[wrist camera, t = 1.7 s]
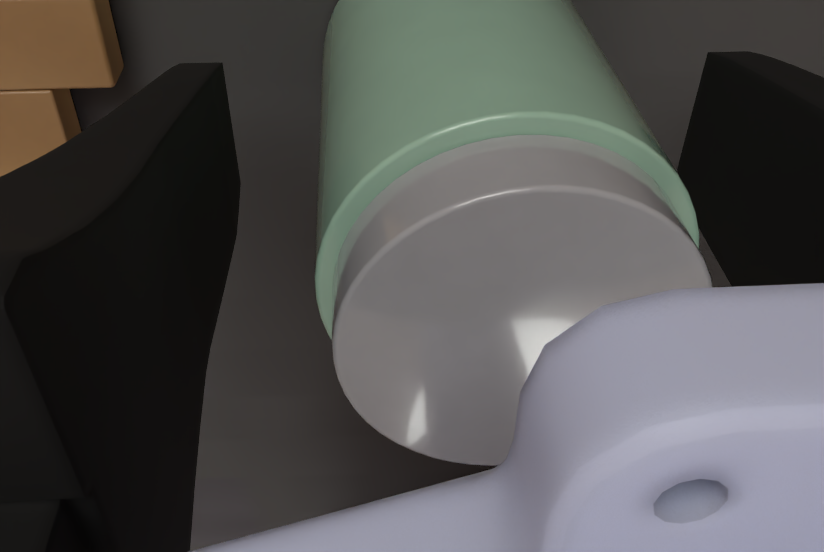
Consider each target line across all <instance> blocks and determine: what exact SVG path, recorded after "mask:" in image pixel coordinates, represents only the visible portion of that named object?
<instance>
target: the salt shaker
mask: <svg viewBox="0 0 824 552" xmlns="http://www.w3.org/2000/svg"><path fill="white" fill-rule="evenodd" d="M314 279H315V296H316V301H317V306H318V310H319V314H320V317H321V320H322V322H323V324H324V327H325V329H326V331H327V334H328V335H329V337H330V338H331V340H332V356H333V363H334V367H335V371H336V376H337V378H338V381H339V383H340V385H341V387H342V390H343V392H344V394H345V395H346V397H347V398H348V400H349V401H350V403H351V404H352V406H353V407H354V409H355V410H356V411H357V412H358V413H359V415H360V416H361V417H362V418H363V419H364V420H365V421H366V422H367V423H368V424H369V425H371V426H372V427H373V428H374V429H376V430H377V431H378V432H379V433H380V434H382V435H384V436H385V437H387V438H389V439H390V440H392V441H393V442H395V443H397V444H399V445H401V446H403V447H405V448H408V449H410V450H412V451H414V452H417V453H420V454H423V455H426V456H429V457H432V458H436V459H441V460H445V461H450V462H456V463H463V464H471V465H491V466H496V465H500V464H501V463H503V462H504V461H505V460H506V458H507V456H508V453H509V450H510V447H511V444H512V441H513V438H514V431H515V425H516V418H517V411H518V404H519V397H520V391H521V389H522V387H523V385H524V383H525V382H526V380H527V378H528V376H529V374H530V372H531V370H532V368H533V366H534V364H535V363H536V361H537V359H538V357H539V355H540V353H541V351H542V349H543V347H544V345H545V344H547V343H548V342H550V341H551V340H553V339H554V338H556V337H557V336H559V335H560V334H561V333H563V332H564V331H566V330H567V329H569V328H570V327H572V326H573V325H575V324H576V323H577V322H579V321H580V320H582V319H583V318H585V317H586V316H588V315H589V314H591V313H592V312H593V311H595V310H596V309H598V308H599V307H601V306H603V305H607V304H611V303H616V302H620V301H624V300H628V299H633V298H637V297H641V296H646V295H650V294H654V293H658V292H663V291H667V290H672V289H689V288H713V286H712V280H711V275H710V273H709V270H708V267H707V265H706V262H705V259H704V257H703V256H702V254H701V252H700V250H699V227H698V221H697V216H696V211H695V208H694V205H693V203H692V200H691V197H690V194H689V192H688V190H687V189H686V187H685V185H684V184H683V182H682V180H681V178H680V177H679V175H678V173H677V172H676V170H675V169H674V167H673V165H672V164H671V162H670V160H669V159H668V157H667V156H666V154H665V152H664V151H663V149H662V148H661V146H660V144H659V143H658V141H657V139H656V138H655V136H654V135H653V133H652V131H651V130H650V128H649V126H648V125H647V123H646V122H645V120H644V118H643V117H642V115H641V113H640V112H639V110H638V109H637V107H636V105H635V104H634V102H633V101H632V99H631V97H630V96H629V94H628V92H627V91H626V89H625V88H624V86H623V84H622V83H621V81H620V79H619V78H618V76H617V75H616V73H615V71H614V70H613V68H612V67H611V65H610V63H609V62H608V60H607V58H606V57H605V55H604V54H603V52H602V50H601V49H600V47H599V45H598V44H597V42H596V41H595V39H594V37H593V36H592V34H591V32H590V31H589V29H588V28H587V26H586V24H585V23H584V21H583V20H582V18H581V16H580V15H579V13H578V11H577V10H576V8H575V7H574V5H573V3H572V2H571V0H339V1H338V3H337V5H336V7H335V8H334V11H333V14H332V16H331V19H330V21H329V24H328V28H327V32H326V36H325V40H324V49H323V64H322V90H321V117H320V144H319V170H318V197H317V223H316V250H315V276H314Z"/></svg>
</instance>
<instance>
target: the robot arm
mask: <svg viewBox="0 0 824 552" xmlns="http://www.w3.org/2000/svg"><path fill="white" fill-rule="evenodd" d="M677 170H678V174H679V177H680V178H681V180H682V182H683V184H684V185H685V187H686V189H687V190H688V192H689V194H690V197H691V200H692V203H693V205H694V208H695V211H696V216H697V221H698V227H699V229H700V230H701V232H702V234H703V236H704V238H705V239H706V241H707V243H708V245H709V247H710V249H711V250H712V252H713V254H714V256H715V258H716V259H717V261H718V263H719V265H720V266H721V268H722V270H723V271H724V273H725V275H726V277H727V278H728V280H729V282H730V284H731V285H732V287H714V288H689V289H672V290H667V291H663V292H658V293H654V294H650V295H646V296H641V297H637V298H633V299H628V300H624V301H620V302H616V303H611V304H607V305H603V306H601V307H599V308H598V309H596V310H595V311H593V312H592V313H591V314H589V315H588V316H586V317H585V318H583V319H582V320H580V321H579V322H577V323H576V324H575V325H573V326H572V327H570V328H569V329H567V330H566V331H564V332H563V333H561V334H560V335H559V336H557V337H556V338H554V339H553V340H551V341H550V342H548V343H547V344H545V345H544V347H543V349H542V351H541V353H540V355H539V357H538V359H537V361H536V363H535V364H534V366H533V368H532V370H531V372H530V374H529V376H528V378H527V380H526V382H525V383H524V385H523V387H522V389H521V391H520V397H519V404H518V411H517V418H516V425H515V431H514V438H513V441H512V444H511V447H510V450H509V453H508V456H507V458H506V460H505V461H504V462H503V463H501V464H500V465H498V466H497V467H495V468H493V469H490V470H486V471H483V472H479V473H475V474H472V475H468V476H464V477H461V478H457V479H453V480H450V481H446V482H442V483H439V484H435V485H431V486H428V487H424V488H420V489H416V490H413V491H409V492H405V493H402V494H398V495H394V496H391V497H387V498H383V499H380V500H376V501H372V502H369V503H365V504H361V505H358V506H354V507H350V508H347V509H343V510H339V511H336V512H332V513H328V514H325V515H321V516H317V517H314V518H310V519H306V520H303V521H299V522H295V523H291V524H288V525H284V526H280V527H277V528H273V529H269V530H266V531H262V532H258V533H255V534H251V535H247V536H244V537H240V538H236V539H233V540H229V541H225V542H222V543H218V544H214V545H211V546H207V547H203V548H200V549H196V550H192V551H190V542H191V528H192V515H193V501H194V488H195V476H196V466H197V455H198V444H199V433H200V423H201V413H202V404H203V395H204V386H205V377H206V369H207V364H208V358H209V353H210V347H211V343H212V339H213V334H214V330H215V326H216V322H217V317H218V313H219V309H220V305H221V301H222V296H223V292H224V288H225V284H226V279H227V275H228V271H229V267H230V262H231V258H232V253H233V249H234V244H235V240H236V235H237V224H238V213H239V198H240V184H241V183H240V176H239V169H238V163H237V156H236V150H235V143H234V136H233V130H232V123H231V117H230V110H229V104H228V97H227V90H226V84H225V77H224V71H223V64H222V63H183V64H178V65H176V66H174V67H172V68H171V69H169V70H168V71H166V72H165V73H163V74H162V75H161V76H159V77H158V78H157V79H155V80H154V81H153V82H151V83H150V84H149V85H147V86H146V87H145V88H143V89H142V90H141V91H139V92H138V93H137V94H135V95H134V96H133V97H131V98H130V99H129V100H127V101H126V102H125V103H123V104H122V105H121V106H119V107H118V108H116V109H115V110H114V111H112V112H111V113H110V114H108V115H107V116H105V117H104V118H102V119H101V120H99V121H98V122H96V123H94V124H93V125H91V126H90V127H88V128H87V129H85V130H84V131H82V132H81V133H79V134H78V135H76V136H75V137H73V138H72V139H70V140H69V141H67V142H66V143H64V144H62V145H60V146H59V147H57V148H55V149H54V150H52V151H50V152H48V153H46V154H45V155H43V156H41V157H39V158H37V159H35V160H33V161H31V162H29V163H27V164H25V165H23V166H21V167H19V168H17V169H15V170H13V171H11V172H9V173H7V174H5V175H3V176H1V177H0V552H824V78H823V77H821V76H818V75H816V74H813V73H811V72H808V71H806V70H804V69H801V68H799V67H796V66H794V65H791V64H788V63H785V62H783V61H780V60H777V59H774V58H771V57H768V56H765V55H761V54H757V53H753V52H708V54H707V58H706V62H705V65H704V69H703V73H702V77H701V81H700V85H699V88H698V92H697V96H696V100H695V104H694V107H693V111H692V115H691V119H690V123H689V127H688V130H687V134H686V138H685V142H684V146H683V150H682V153H681V157H680V161H679V165H678V169H677Z"/></svg>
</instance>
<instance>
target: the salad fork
mask: <svg viewBox="0 0 824 552" xmlns="http://www.w3.org/2000/svg"><path fill="white" fill-rule="evenodd" d="M123 67H124V64H123V60H122V56H121V52H120V47H119V43H118V39H117V35H116V30H115V26H114V22H113V18H112V13H111V9H110V5H109V1H108V0H0V177H1V176H3V175H5V174H7V173H9V172H11V171H13V170H15V169H17V168H19V167H21V166H23V165H25V164H27V163H29V162H31V161H33V160H35V159H37V158H39V157H41V156H43V155H45V154H46V153H48V152H50V151H52V150H54V149H55V148H57V147H59V146H60V145H62V144H64V143H66V142H67V141H69V140H70V139H72V138H73V137H75V136H76V135H78V134H79V133H81V128H80V125H79V121H78V118H77V114H76V111H75V107H74V104H73V101H72V97H71V94H70V90H69V89H72V88H111V87H114V86H115V84H116V82H117V80H118V78H119V76H120V74H121V72H122V70H123Z"/></svg>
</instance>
